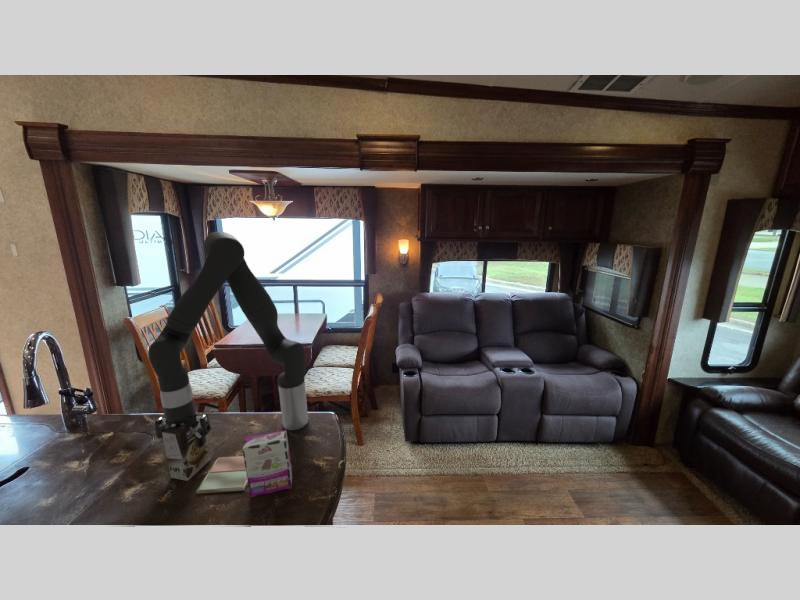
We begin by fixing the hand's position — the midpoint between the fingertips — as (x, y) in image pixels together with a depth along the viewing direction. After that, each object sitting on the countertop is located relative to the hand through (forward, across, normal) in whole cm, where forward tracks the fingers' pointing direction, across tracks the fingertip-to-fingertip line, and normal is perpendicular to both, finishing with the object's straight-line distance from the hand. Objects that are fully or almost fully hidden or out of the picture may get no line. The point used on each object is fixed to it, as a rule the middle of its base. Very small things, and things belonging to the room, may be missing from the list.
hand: (187, 446), depth 95 cm
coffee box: (+8, 0, 0) cm, 8 cm away
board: (+8, -13, +3) cm, 16 cm away
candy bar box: (+8, -27, +9) cm, 30 cm away
